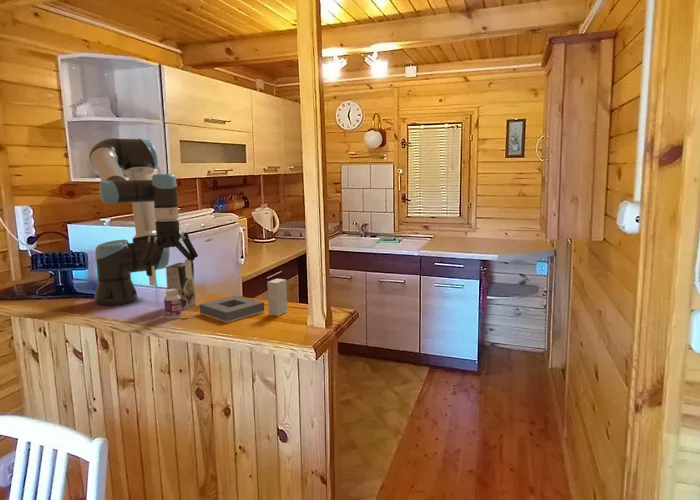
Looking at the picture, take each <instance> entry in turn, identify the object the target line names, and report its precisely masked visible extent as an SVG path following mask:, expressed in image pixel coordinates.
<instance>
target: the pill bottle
mask: <svg viewBox="0 0 700 500" xmlns="http://www.w3.org/2000/svg"><path fill="white" fill-rule="evenodd" d="M177 294H178V289H168V290H167V289H166V290H165V296H164V299H163V301H164V302H163V303H164V316H165V318H166V319H168V320H173V319H178V318H181V317H182V310H181V298H180V296H179V295H177Z"/></svg>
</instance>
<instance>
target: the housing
mask: <svg viewBox="0 0 700 500" xmlns="http://www.w3.org/2000/svg"><path fill="white" fill-rule="evenodd" d="M262 313H265V302H264V301H260V300H256V299H252V298H249V297H244V296H242V295H238V294H235V295H231V296H228V297H223V298H219V299H215V300H212V301H208V302H207V301H206V302H203V303H200V304H199V314H200V315H203V316H206V317H209V318H212V319H215V320H218V321H221V322H224V323H230V322H234V321H239V320H241V319H245V318H249V317H252V316H255V315H258V314H262Z"/></svg>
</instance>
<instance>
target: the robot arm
mask: <svg viewBox="0 0 700 500" xmlns="http://www.w3.org/2000/svg"><path fill="white" fill-rule="evenodd" d="M89 161H90V164H91V165H92V167H93V168H94V169H95V170H96V171H97V173H98V175H99V178H100V182H99V185H98V187H99V188H98V189H99V191H98V193H99V198H100V201H101V203H103V204H122V203H123V204H125V203H131V205H132V214H133V222H134V230H135V235H134V236H133V237H132V242H129V241H128V240H127V239H117V240H111V241H106V242H103V243H100V244H98V245H97V246H96V247H95V250H94V251H95V257H94V259H95V263H96V274H97V286H96V290H95V294H94V298H93V299H94V304H95V305H99V306H118V305H125V304H129V303H132V302H134V301H136V300H138V293H137V289H136V288H135V286H134V284H133V281H132V276H131V274H132V273H139V272H140V273H141V272H146V277H148V281H149V286H153V287H155V286H156V285H157V284H156V271H157V270H162V269H163V270H164V269H166V267H168V266H169V261H170V251H171V250H170V249H171V248H176V249H177V250H178V251H179V252H180V253H181V254H182V255H183V256H184V257H185V258H186V259H184V263H185V269H186V278H189V279H192V269H193V265H194V264H193V263H194V261H195V258H198V257H199V255H198V253H197V251H196V249H195V247H194V245H193V243H192V241H191V240H190V238H189V236H190V235H189V233H188V232H183V231H182V232H181V233H180V221H179V220H178V219H179V205H178V187H177V186H178V183H177V177H176V175H175V174H173V173H155V169H156V168H158V164H159V163H158V162H159V160H158V155H157V150H156V147H155V145H154V143H153V141H151V140H150V139H142V138H115V137H113V138H106V139H104V140H101V141H99V142H97V143H96V144H95V145H93V146H92V147H91V150H90V152H89ZM122 170H123V171H122ZM154 173H155V174H154ZM124 174H125V175H126V176H127V177H128V179H126V177H125V175H124ZM180 239H182V241H183V243H184V246H183V243H182V242H180Z"/></svg>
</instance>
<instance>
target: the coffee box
mask: <svg viewBox="0 0 700 500" xmlns="http://www.w3.org/2000/svg"><path fill="white" fill-rule="evenodd" d="M194 265H195V264H194V262H193V269H192V279H189V278H186V269H185V262H177V263H174V264H171V265H167V267H166V268H165V271H166V288H167V289H166V290H168V289H178V294H177V295H179V296H180V298H181V311H186V309H189V308H191V307H192V306H195V305H196V303H197V302H196V288H195V287H196V286H195V282H196V281H195V270H194V269H195V268H194Z"/></svg>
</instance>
